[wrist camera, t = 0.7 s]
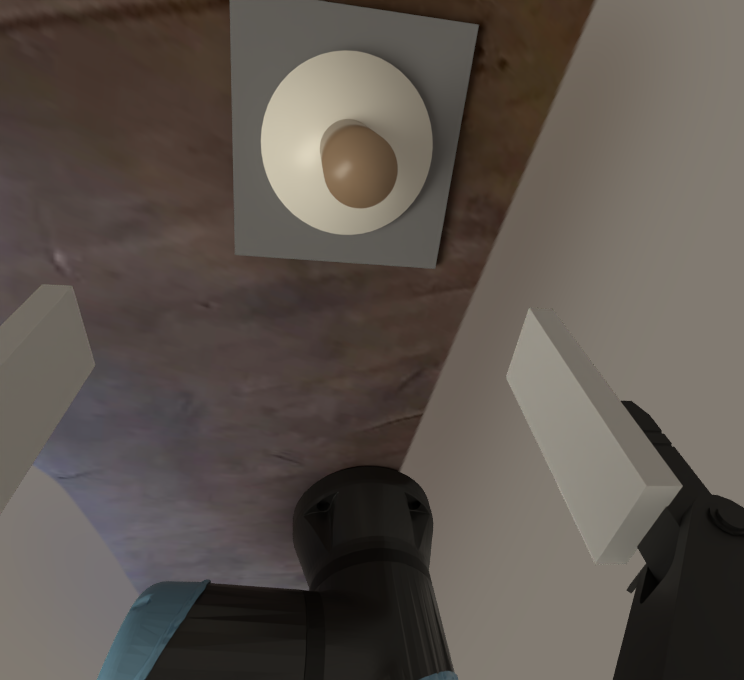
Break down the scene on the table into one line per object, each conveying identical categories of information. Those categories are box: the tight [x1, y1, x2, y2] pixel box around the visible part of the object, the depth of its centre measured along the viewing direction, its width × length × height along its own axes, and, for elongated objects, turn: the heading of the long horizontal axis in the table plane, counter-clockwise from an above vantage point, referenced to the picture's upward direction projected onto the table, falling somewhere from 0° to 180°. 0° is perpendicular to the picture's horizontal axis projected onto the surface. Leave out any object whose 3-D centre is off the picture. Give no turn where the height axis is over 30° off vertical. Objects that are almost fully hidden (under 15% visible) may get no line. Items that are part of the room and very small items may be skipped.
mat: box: [230, 0, 479, 269], centre depth 35 cm, size 17×16×1 cm
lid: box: [261, 50, 433, 235], centre depth 30 cm, size 12×12×10 cm
